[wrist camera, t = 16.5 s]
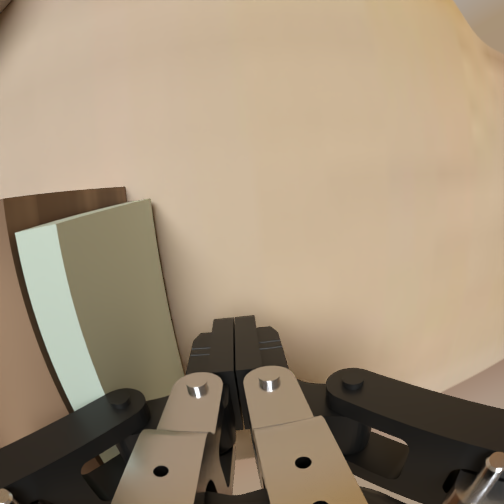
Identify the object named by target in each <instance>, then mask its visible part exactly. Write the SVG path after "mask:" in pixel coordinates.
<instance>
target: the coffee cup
mask: <svg viewBox="0 0 504 504" xmlns="http://www.w3.org/2000/svg"><path fill="white" fill-rule="evenodd" d="M10 1H11V0H0V13H1V12H2V11H3V9H4V8H5V7H6V6H7V5H8V4H9V2H10Z"/></svg>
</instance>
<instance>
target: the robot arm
mask: <svg viewBox="0 0 504 504" xmlns="http://www.w3.org/2000/svg"><path fill="white" fill-rule="evenodd" d="M242 413H243V414H242ZM243 419H244V425H245V429H250V431H251V437H252V443H253V449H254V454H255V459H256V464H257V469H258V474H259V478H260V483H261V487H262V489H261V490H257V491H254V492H250V493H246V494H242V495H232V493H233V480H234V468H235V456H236V446H235V441H236V430H243ZM371 428H374V429H377V430H379V431H382V432H384V433H387V434H389V435H392V436H395V437H397V438H400V439H402V440H403V441H405V442H406V443H407V445H408V446H407V445H404V444H402V443H399V442H397V441H394V440H391V439H389V438H386V437H384V436H381V435H379V434H376V433H374V432H371ZM114 445H116V447H117V448H118V450H119V452H120V454H118V455H117V456H115V457H114V458H112V459H110V460H109V461H107V462H106V463H104V464H102V465H101V466H99V467H98V468H96V469H94V470H93V471H91V472H89V473H87V474H81V469H82V467H83V465H84V464H85V463H86V462H88V461H90V460H91V459H93V458H95V457H96V456H98V455H100V454H101V453H103V452H104V451H106V450H108V449H109V448H111V447H113V446H114ZM353 474H354V475H356V476H358V477H360V478H362V479H364V480H366V481H369V482H371V483H373V484H375V485H377V486H380V487H382V488H384V489H387V490H389V491H391V492H394V493H396V494H399V495H401V496H404V497H406V498H409V499H411V500H414V501H417V502H419V503H423V504H504V409H500V408H496V407H491V406H487V405H483V404H479V403H475V402H471V401H467V400H463V399H460V398H456V397H452V396H449V395H445V394H442V393H438V392H435V391H431V390H428V389H424V388H421V387H418V386H414V385H411V384H408V383H404V382H401V381H398V380H395V379H392V378H389V377H386V376H382V375H379V374H376V373H373V372H370V371H367V370H364V369H359V368H348V369H342V370H339V371H337V372H335V373H333V374H332V375H330V376H329V378H328V379H327V381H326V384H314V383H306V382H303V381H300V380H298V379H296V377H295V375H294V373H293V372H292V371H290V370H289V368H288V365H287V361H286V358H285V355H284V351H283V348H282V345H281V341H280V338H279V334H278V332H277V331H276V330H274V329H273V328H272V327H270V326H268V327H259V328H256V323H255V317H254V315H251V316H242V317H235V323H234V318H223V319H214V321H213V328H212V332H211V333H201V334H200V335H199V336H198V337H197V338H196V339H195V340H194V341H193V345H192V350H191V354H190V358H189V363H188V367H187V371H186V375H185V376H183V377H181V378H180V379H178V380H177V381H176V382H175V384H174V385H173V388H172V390H171V393H170V395H168V396H165V397H162V398H157V399H153V400H148V401H146V399H145V396H144V395H143V393H141V392H140V391H138V390H136V389H131V388H122V389H117V390H114V391H111V392H109V393H107V394H105V395H104V396H102V397H100V398H98V399H96V400H94V401H93V402H91V403H89V404H87V405H85V406H83V407H82V408H80V409H78V410H76V411H74V412H72V413H70V414H68V415H66V416H65V417H63V418H61V419H59V420H57V421H55V422H53V423H51V424H49V425H47V426H45V427H43V428H41V429H39V430H37V431H35V432H33V433H31V434H29V435H27V436H25V437H23V438H21V439H19V440H17V441H15V442H13V443H11V444H9V445H7V446H4V447H2V448H0V504H406V503H403V502H401V501H399V500H397V499H394V498H392V497H390V496H388V495H386V494H383V493H381V492H378V491H375V490H372V489H369V488H365V487H360V486H359V485H358V484H357V481H356V479H355V478H354V476H353Z"/></svg>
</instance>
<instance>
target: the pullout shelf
mask: <svg viewBox="0 0 504 504" xmlns="http://www.w3.org/2000/svg"><path fill="white" fill-rule="evenodd" d="M15 236H16V241H17V246H18V251H19V256H20V261H21V265H22V270H23V274H24V278H25V282H26V286H27V289H28V293H29V297H30V300H31V304H32V307H33V310H34V313H35V317H36V320H37V323H38V326H39V329H40V332H41V335H42V337H43V340H44V343H45V346H46V348H47V351H48V353H49V356H50V359H51V361H52V364H53V366H54V368H55V371H56V373H57V375H58V378H59V380H60V382H61V384H62V387H63V389H64V391H65V393H66V395H67V397H68V399H69V402H70V404H71V406H72V408H73V410H74V411H76V410H78V409H80V408H82V407H83V406H85V405H87V404H89V403H91V402H93V401H94V400H96V399H98V398H100V397H102V396H104V395H105V394H107V393H109V392H111V391H114V390H117V389H122V388H131V389H136V390H138V391H140V392H141V393H143V395H144V396H145V399H146V401H148V400H153V399H157V398H162V397H165V396H168V395H170V393H171V390H172V388H173V385H174V384H175V382H176V381H177V380H178V379H180V378H181V377H183V376H184V372H183V368H182V364H181V360H180V356H179V352H178V348H177V343H176V339H175V335H174V330H173V326H172V321H171V317H170V312H169V307H168V302H167V297H166V292H165V287H164V282H163V276H162V271H161V265H160V259H159V253H158V247H157V241H156V235H155V228H154V221H153V214H152V207H151V199H144V200H138V201H132V202H126V203H122V204H118V205H114V206H109V207H105V208H101V209H97V210H93V211H90V212H86V213H82V214H78V215H74V216H71V217H67V218H63V219H60V220H56V221H53V222H49V223H46V224H42V225H39V226H36V227H32V228H29V229H26V230H22V231H19V232H16V233H15ZM118 454H120V452H119V450H118V448H117V447H116V445H114V446H113V447H111V448H109V449H108V450H106V451H104V452H103V453H101V454H100V455H99V456H100V457H101V459H102V461H103V462H104V463H106V462H107V461H109V460H110V459H112V458H114V457H115V456H117V455H118Z"/></svg>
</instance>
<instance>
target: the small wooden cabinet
mask: <svg viewBox="0 0 504 504" xmlns="http://www.w3.org/2000/svg"><path fill="white" fill-rule="evenodd" d="M126 202H127V200H126V192H125V187H114V188H100V189H87V190H76V191H65V192H55V193H45V194H37V195H28V196H20V197H13V198H5V199H1V200H0V448H2V447H4V446H7V445H9V444H11V443H13V442H15V441H17V440H19V439H21V438H23V437H25V436H27V435H29V434H31V433H33V432H35V431H37V430H39V429H41V428H43V427H45V426H47V425H49V424H51V423H53V422H55V421H57V420H59V419H61V418H63V417H65V416H66V415H68V414H70V413H72V412H74V410H73V408H72V406H71V404H70V402H69V399H68V397H67V395H66V393H65V391H64V389H63V387H62V384H61V382H60V380H59V378H58V375H57V373H56V371H55V368H54V366H53V364H52V361H51V359H50V356H49V353H48V351H47V348H46V346H45V343H44V340H43V337H42V335H41V332H40V329H39V326H38V323H37V320H36V317H35V313H34V310H33V307H32V304H31V300H30V297H29V293H28V289H27V286H26V282H25V278H24V274H23V270H22V265H21V261H20V256H19V251H18V246H17V241H16V236H15V233H16V232H19V231H22V230H26V229H29V228H32V227H36V226H39V225H42V224H46V223H49V222H53V221H56V220H60V219H63V218H67V217H71V216H74V215H78V214H82V213H86V212H90V211H93V210H97V209H101V208H105V207H109V206H114V205H118V204H122V203H126ZM102 464H104V462H103V461H102V459H101V457H100V456H99V455H98V456H96V457H95V458H93V459H91V460H90V461H88V462H86V463H85V464H84V465H83V467H82V469H81V474H87V473H89V472H91V471H93V470H94V469H96V468H98V467H99V466H101V465H102Z"/></svg>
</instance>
